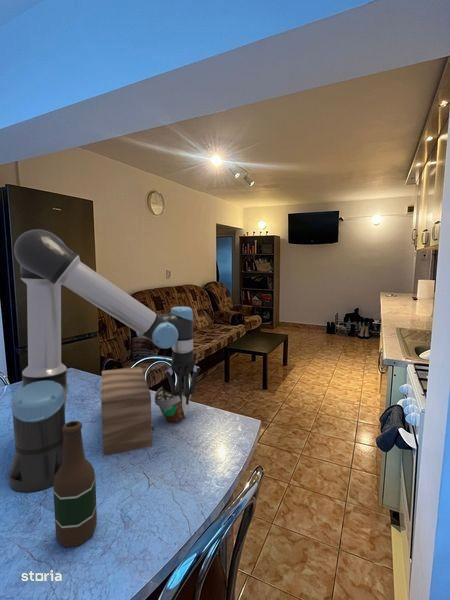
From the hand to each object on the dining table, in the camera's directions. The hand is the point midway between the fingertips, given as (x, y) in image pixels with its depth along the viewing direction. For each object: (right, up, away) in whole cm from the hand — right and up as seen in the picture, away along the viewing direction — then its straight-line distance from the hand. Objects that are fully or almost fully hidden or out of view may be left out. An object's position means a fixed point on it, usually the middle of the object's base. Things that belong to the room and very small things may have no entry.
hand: (183, 413), depth 114 cm
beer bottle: (-16, -8, -48) cm, 51 cm away
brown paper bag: (-19, -3, -7) cm, 20 cm away
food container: (-4, -2, -1) cm, 5 cm away
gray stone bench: (-14, -2, -5) cm, 15 cm away
